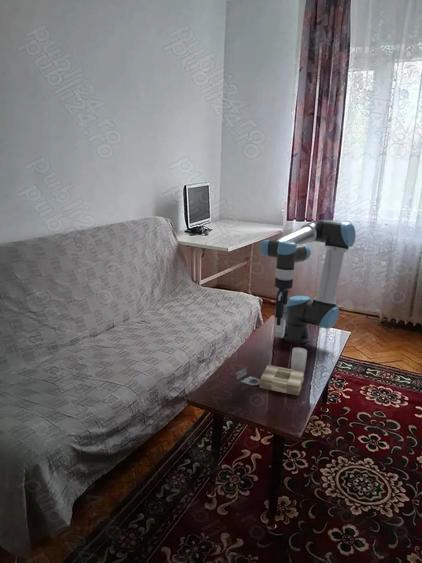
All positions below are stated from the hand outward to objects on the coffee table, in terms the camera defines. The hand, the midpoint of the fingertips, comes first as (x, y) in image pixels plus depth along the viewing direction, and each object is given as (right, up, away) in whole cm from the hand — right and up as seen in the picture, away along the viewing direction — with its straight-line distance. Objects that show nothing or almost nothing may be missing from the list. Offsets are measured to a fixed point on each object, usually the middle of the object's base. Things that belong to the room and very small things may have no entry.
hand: (279, 329), depth 182 cm
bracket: (-14, -21, -4) cm, 26 cm away
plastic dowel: (+10, -19, +7) cm, 22 cm away
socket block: (0, -22, -7) cm, 23 cm away
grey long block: (0, -3, +1) cm, 3 cm away
